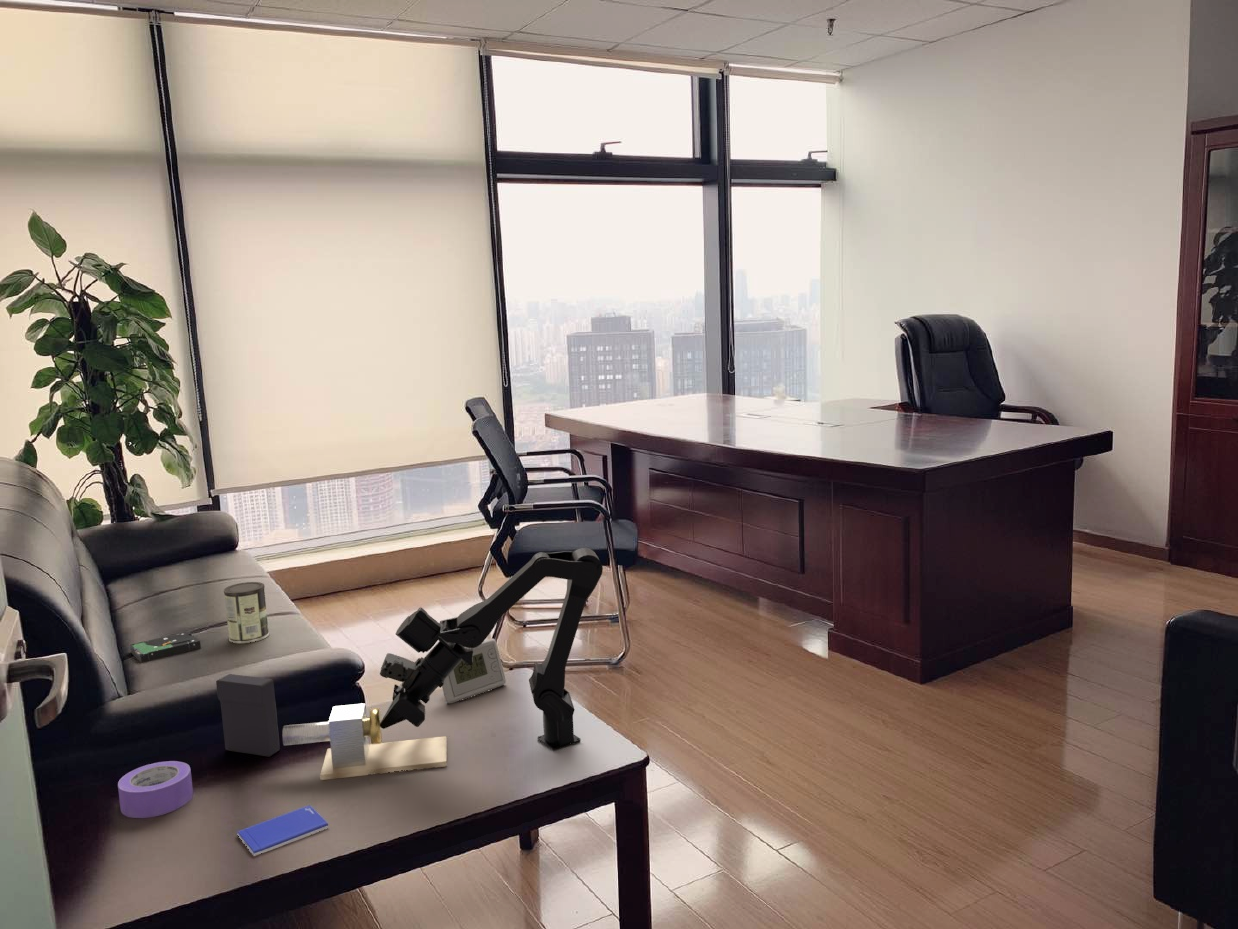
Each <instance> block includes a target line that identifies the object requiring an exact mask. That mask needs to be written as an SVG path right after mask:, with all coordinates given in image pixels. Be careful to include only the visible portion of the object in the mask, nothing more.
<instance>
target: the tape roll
mask: <svg viewBox="0 0 1238 929" xmlns="http://www.w3.org/2000/svg"><path fill="white" fill-rule="evenodd" d="M117 789H118V798H119V806H120V807H119V808H120V812H121V814H122V815H123V816H125V817H128V818H134V819H147V818H155V817H158V816H159V817H160V816H164V815H165V814H169V813H172V812H174V811H176V810H178V809H180V808H182V807H184V806H185V805H186V804H188V803H189V801H191V800H192V798H193V796H194V791H193V790H194V789H193V780H192V772H191V767H190V765H189V764H188V763H186V762H183V761H177V760H169V761H158V762H154V763H151V764H150V763H148V764H146V765H143V766H140V767H137V768H135V769H133V770H131V771H129V772H127V773H125V775H122V777H121V778H120V779H119V781H118V782H117Z"/></svg>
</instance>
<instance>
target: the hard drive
mask: <svg viewBox="0 0 1238 929" xmlns="http://www.w3.org/2000/svg"><path fill="white" fill-rule="evenodd" d="M327 828H328V829H329V828H330V827H329V823H328V821H327V820H325V818H324V817H323V816H322V815H321V814H320V813H319V812H318V811H317V810H315V808H314V807H313V806H312V805H305V806H303V807H301V808H298V809H295V810H292V811H289V812H286V813H285V814H281V815H279V816H276V817H273V818H271V819H268V820H265V821H262V822H260V823H256V824H253V825H252V826H248V827H247V828H244V829H243V828H242V829H241V830H238V831H236V834H237V835H238V836H239V837H238V836H237V837H238V839H239V838H240V839H241V840H242V841H241V840H240V839H239V840H240V841H241V842H242V844H243V845H244V844H245V845H244V846H245V847H246V846H247V847H246V849H247V850H248V849H249V850H248V851H249V852H250V854H251V855H252V856H253V857H257V856H259V855H261V853H262V854H265V853H266V852H269V851H272V850H275V849H277V848H280V847H283V846H284V845H288V844H291V843H293V842H296V841H299V840H301V839H304V838H307V837H309V836H311V834H312V835H315V834H317V833H319V831H320V832H322V831H325V830H327ZM324 829H325V830H324Z"/></svg>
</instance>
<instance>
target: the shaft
mask: <svg viewBox="0 0 1238 929" xmlns="http://www.w3.org/2000/svg"><path fill="white" fill-rule="evenodd" d="M381 712H382V710H381V708H371V709H369V717H367V716H366V718H364V719H363V729H364V737H368V738H369V737H370V744H372V745H373V744H381V743H382V739H383V737H382V736H383V728H381V727H380V723H381V721H382V713H381ZM320 742H330V732H329V720H327V721H319V722H310V723H309V722H308V723H300V724H299V723H298V724H289V725H287V724H286V725H283V726H282V744H283V746H292V745H303V744H304V745H305V744H312V743H313V744H314V743H320Z"/></svg>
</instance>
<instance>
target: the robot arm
mask: <svg viewBox="0 0 1238 929" xmlns="http://www.w3.org/2000/svg"><path fill="white" fill-rule="evenodd" d="M603 568H604V567H603V564H602V562H601V560H600V559H599V556H598V555H597V554H596V552H595V551H594V550H593V549H590V548H588V547H581V548H580V547H579V548H578V549H576V550H573V551H571V550H570V551H569V550H566V551H565V550H562V551H556V552H555V551H554V552H542V551H540V552H537V553H535V554H534V555H532V558H531V559H529V561H528V562H527V563H525V565H523V566H522V567H521V568H520V569H519V570H518V571H516V573H514V574H513V575H512V576H511V577H510V578H509V579H508V580H506V582H505V583H503V584H502V585H501V586H500V587H499V588H498V589H497V590H496V591H494V592H493V593H492V594H491V595H490V596H489V597H488V598H486V599H484V600H483V601H481V602H478V603H475V604H473V605H472V606H471V607H468V608H467V609H466V610H464V611H463V612H461V613H460V614H459V615H458V616H455V617H452V618H447V619H442V620H440V621H439V622H438V620H436V619H435V618H433V616H431V615H429V613H428V612H427V611H426V610H425V609H424V608H423V607H419V608H418V609H417V610H416V611H414V612H413V613H411V614H410V615H408V616H406V617H405V619H404V620H403V621H402V623H401V624H400V625H399V627H398V628H397V630H396V632H395V635H396V636H397V637H398V638H399V639H400V640H402V641H403V642H404V643H405V644H406V645H408V646H409V647H410V648H412V649H413V650H414V651H416V652H417V653H422V654H424V653H427V652H428V653H427V654H426V655H425V656H424V657H422V656H421V657H418V658H417V659H416V661H413V660H410V659H408V658H406V657H402V656H400V655H397V654H393V653H389V652H388V653H386V655H385V658H384V660H383V662H382V665H381V667H380V672H379V675H380V676H381V677H382V678H385V679H388V678H389V679H391V680H394V681H397V682H401V683H400V684H399V685H398V684H395V683H394V685H393V686H394V687H393V693H392V697H391V698H392V702H391V703H390V705H389V707H388V708H387V710H386V712H385V714H384V716H383V718H381V723H380V727H381V728H382V730H384V729H388V728H389V727H392V726H394V725H396V724H399V723H401V722H403V721H408V722H409V723H410V724H412V725H413V726H414V727H416V728H419V727H420V726H421V725H422V724H423V722H425V720H426V706H425V705H424V704H428V702H429V701H430V700H431V698H430V697H431V695H432V694H433V693H434V692H435V691H436V689H438V688H442V686H443V685H444V680H445V678H446V677H447V676H448V675H449V674H450V673H451V672H452V671H453V670H454V669H455V667H456V666H457V665H458V664H459V663H460V662H461V661H462V660H464V661H465V662H466V663H467V664H469V665H470V666H472V665H473V657H472V655H473V648H476V647H478V646H479V645H481V644H482V643H483V641H485V640H487V637H489V635H490V634H491V632H492V631H493V630H494V628H495V627H496V625H497V623H498V622H499V620H500V619H501V618H502V617H503V616H504V615H505V614H506V613H507V612H508V611H509V610H510V609H512V608H513V606H514V605H515V604H517V603H518V602H519V601H520V600H521V599H522V598H524V596H526V595H527V594H528V593H529V592H530V591H531V590H533V588H534V587H536V586H537V585H538V584H539V583H540V582H541V581H542V580H543V579H545V578H549V577H550V578H556V579H563V580H566V593H565V596H564V598H563V602H562V606H561V608H560V611H559V616H558V619H557V621H556V624H555V628H554V631H553V635H552V637H551V641H550V644H549V648H548V651H547V654H546V657H545V658H544V660H543V661H542V662H541V664H539V663H538V662H534V664H533V670H532V674H531V676H530V677H529V678H528V682H529V688H530V692H531V696H532V700H533V702H534V705H535V707H536V708H538V709H539V710H540V711H542V724H543V725H542V726H543V734H542V735H539V736H537V741H539V742H540V743H542V744H543V745H544V746H546V747H547V748H548V749H550V750H552V751H556V750H560V749H562V748H566V747H569V746H573V745H575V744H577V743H580V742H581V738H580V737H579V736H577V735H576V734H575V733H574V713H575V706H574V703H573V700H572V697H571V694H570V692H569V691H568V690H567V689H566V688H565V686H566V685H565V682H566V669H567V668H566V667H567V663H568V660H569V657H570V654H571V651H572V647H573V645H574V641H575V638H576V635H577V633H578V632H577V630H578V628H579V625H580V621H581V618H582V616H583V611H584V609H585V605H586V603H587V600H588V599H589V597H590V596H591V595H592V594H593V592H594V590H595V589H596V586H597V585H598V583H599V581H600V579H601V577H602V575H603V572H604V569H603ZM465 647H466V648H465ZM422 702H423V703H424V704H423V703H422Z"/></svg>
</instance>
